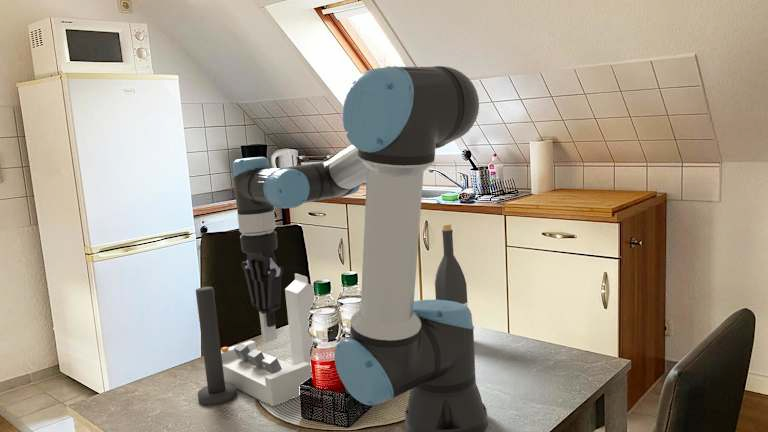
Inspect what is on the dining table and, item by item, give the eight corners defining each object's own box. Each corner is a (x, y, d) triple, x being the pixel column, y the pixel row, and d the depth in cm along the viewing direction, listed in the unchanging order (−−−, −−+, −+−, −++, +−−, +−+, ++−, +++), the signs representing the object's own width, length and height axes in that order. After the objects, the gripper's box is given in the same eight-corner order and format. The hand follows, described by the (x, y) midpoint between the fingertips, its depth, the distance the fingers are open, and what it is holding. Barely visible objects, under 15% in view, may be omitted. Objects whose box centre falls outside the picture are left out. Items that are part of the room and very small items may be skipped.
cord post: (243, 395, 137) (231, 287, 133) (209, 409, 132) (195, 296, 128) (225, 385, 143) (212, 281, 139) (191, 398, 138) (177, 290, 134)
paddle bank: (287, 373, 136) (280, 359, 135) (280, 379, 135) (273, 365, 134) (243, 354, 149) (237, 341, 148) (236, 359, 148) (230, 346, 147)
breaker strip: (312, 390, 137) (309, 361, 136) (273, 407, 131) (270, 376, 130) (253, 363, 155) (250, 337, 154) (216, 377, 148) (212, 350, 147)
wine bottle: (433, 347, 157) (425, 227, 152) (443, 336, 164) (436, 221, 159) (465, 350, 153) (458, 227, 149) (474, 338, 161) (467, 221, 156)
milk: (305, 372, 147) (295, 280, 144) (292, 365, 152) (282, 275, 148) (327, 365, 151) (318, 274, 147) (314, 358, 156) (305, 270, 152)
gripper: (290, 231, 131) (301, 341, 135) (257, 226, 141) (268, 328, 144) (259, 238, 126) (271, 351, 130) (226, 232, 136) (238, 338, 139)
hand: (269, 339), depth 137 cm, fingers closed
